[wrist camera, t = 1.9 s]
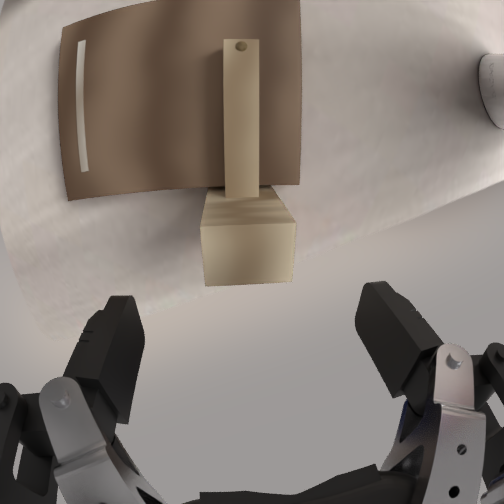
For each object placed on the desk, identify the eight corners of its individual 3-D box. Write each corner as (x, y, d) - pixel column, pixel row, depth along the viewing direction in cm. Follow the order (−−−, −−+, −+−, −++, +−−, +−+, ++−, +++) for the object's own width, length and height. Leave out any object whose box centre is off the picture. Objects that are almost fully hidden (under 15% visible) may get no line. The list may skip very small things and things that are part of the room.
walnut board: (292, 7, 14) (299, -3, 12) (292, 178, 20) (299, 185, 18) (74, 33, 12) (62, 27, 10) (79, 193, 19) (67, 201, 17)
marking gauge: (270, 53, 15) (299, 15, 8) (268, 224, 21) (292, 281, 14) (206, 53, 15) (194, 12, 8) (211, 227, 21) (205, 286, 14)
